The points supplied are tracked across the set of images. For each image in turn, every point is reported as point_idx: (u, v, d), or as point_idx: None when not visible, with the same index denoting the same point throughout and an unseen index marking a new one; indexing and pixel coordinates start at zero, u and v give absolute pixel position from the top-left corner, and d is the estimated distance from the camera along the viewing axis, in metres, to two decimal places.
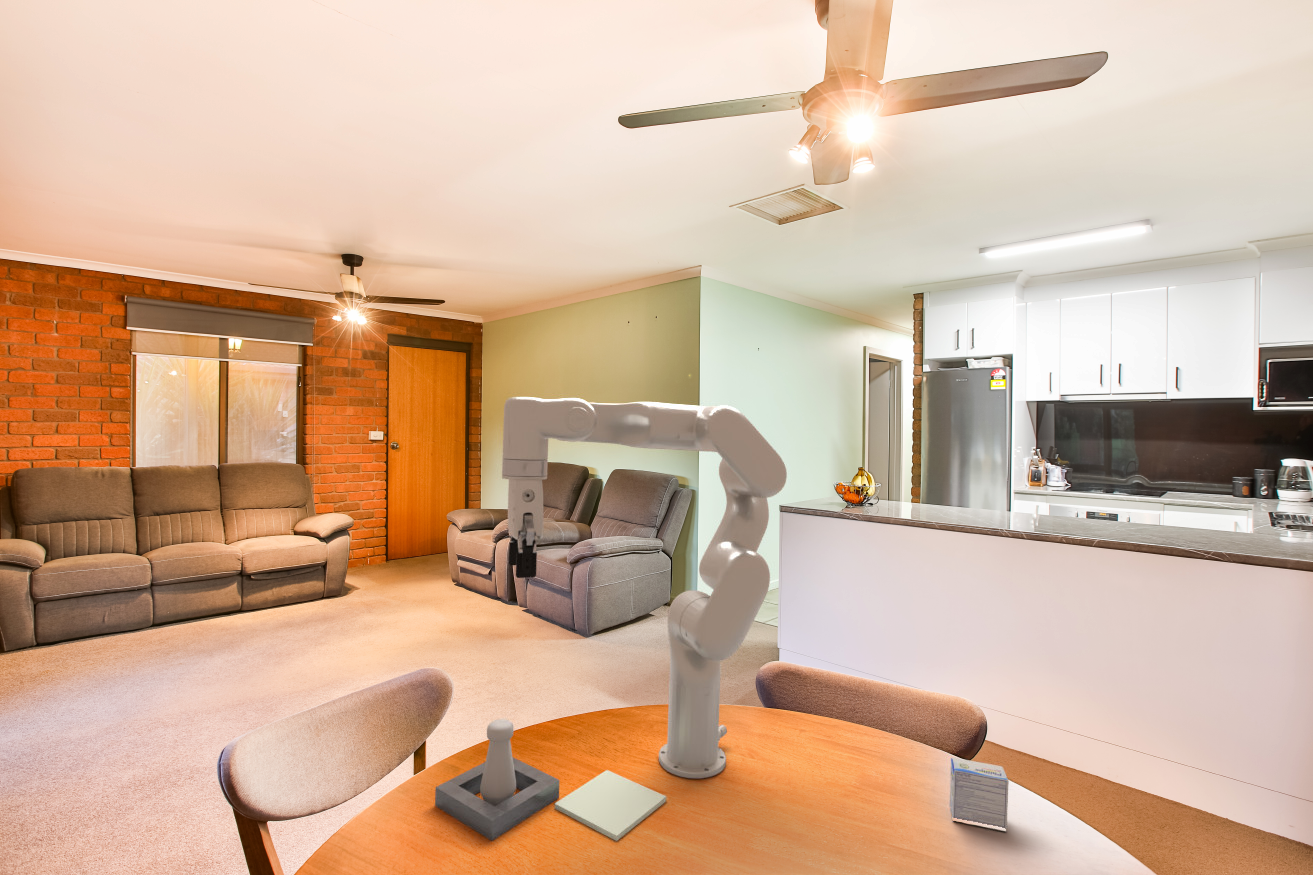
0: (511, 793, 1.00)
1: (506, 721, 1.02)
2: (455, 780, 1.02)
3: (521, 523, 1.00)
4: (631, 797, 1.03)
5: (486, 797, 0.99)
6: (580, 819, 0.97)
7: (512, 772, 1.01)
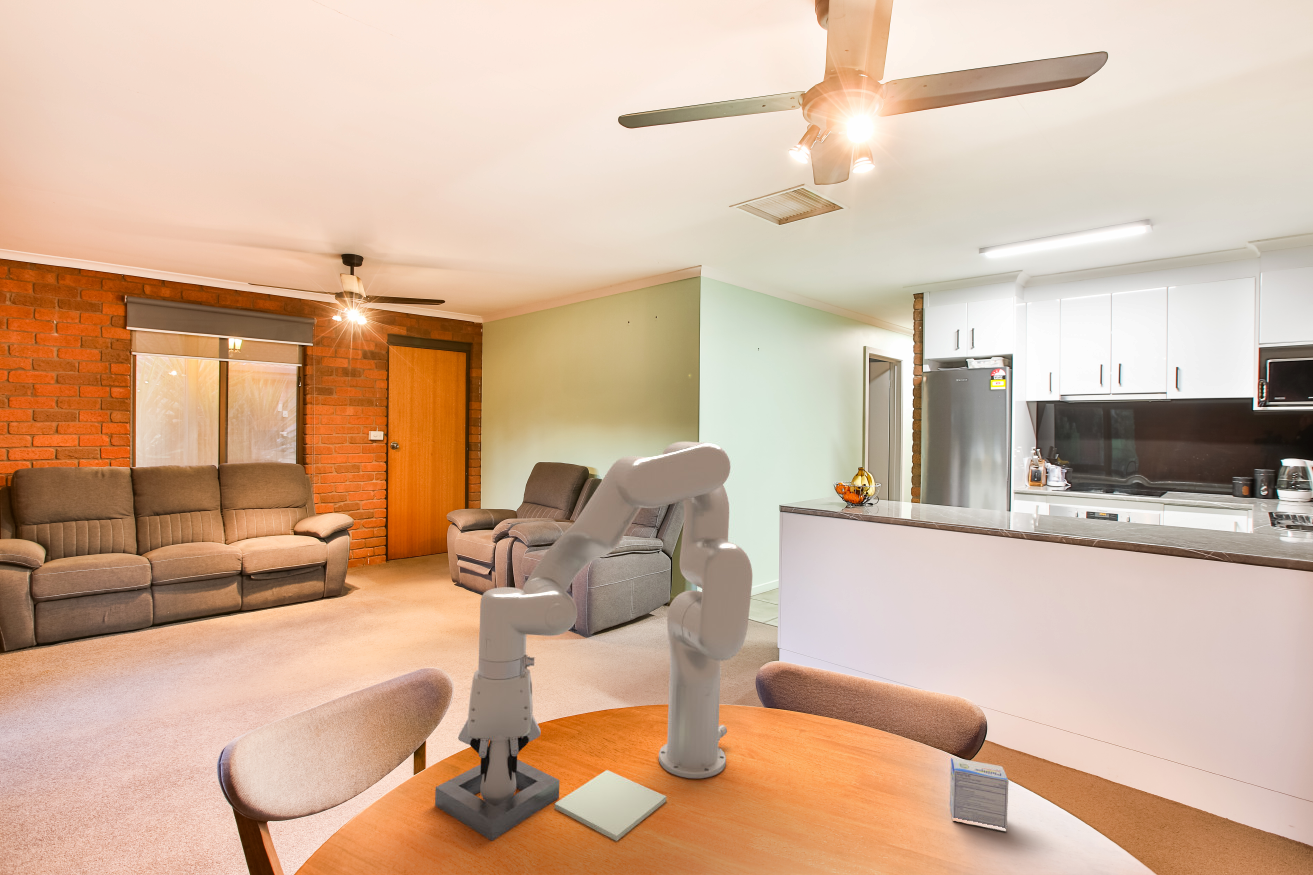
0: (511, 793, 1.00)
1: None
2: (455, 780, 1.02)
3: (531, 717, 1.01)
4: (631, 797, 1.03)
5: (486, 797, 0.99)
6: (580, 819, 0.97)
7: (512, 772, 1.01)
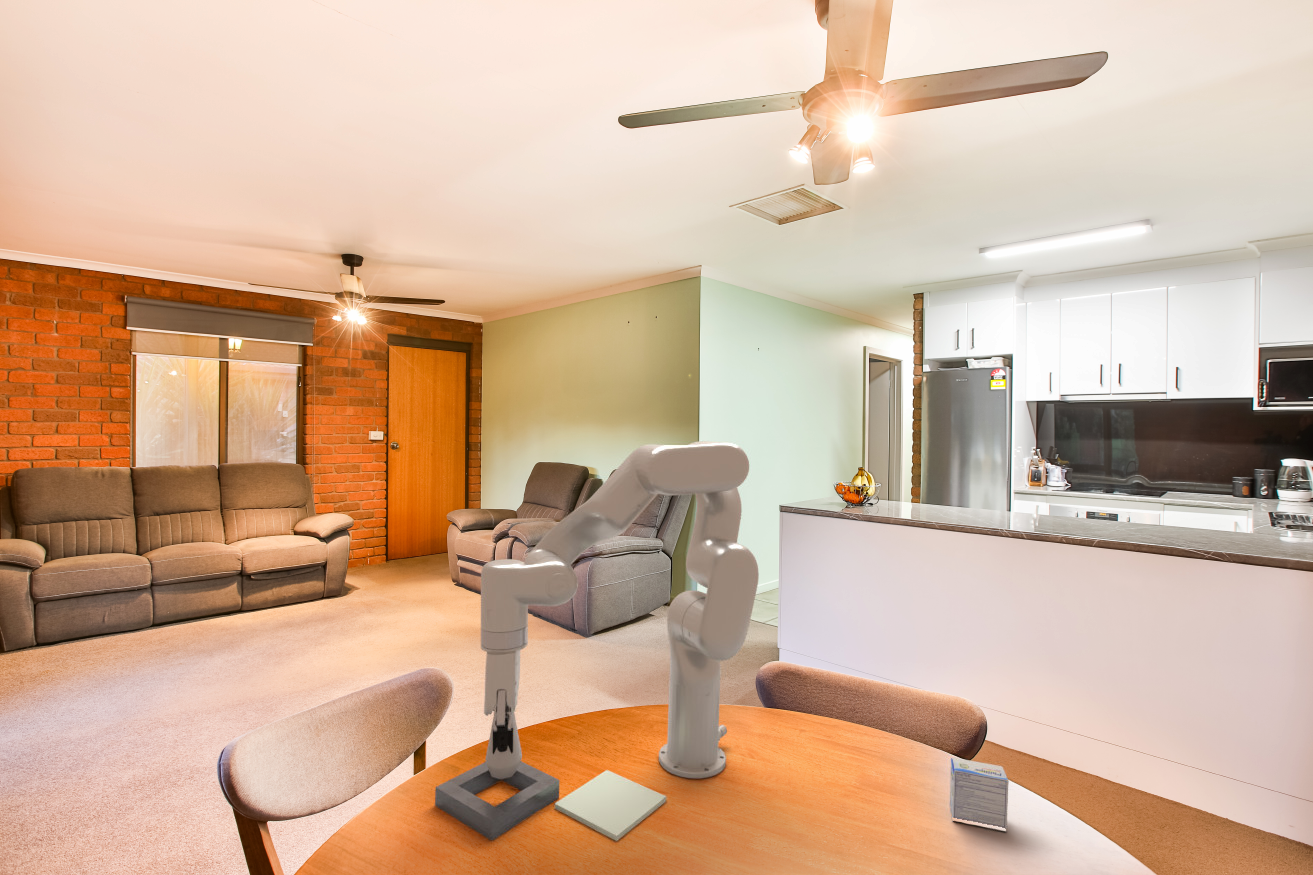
0: None
1: None
2: (455, 780, 1.02)
3: None
4: (631, 797, 1.03)
5: (517, 763, 1.01)
6: (580, 819, 0.97)
7: None
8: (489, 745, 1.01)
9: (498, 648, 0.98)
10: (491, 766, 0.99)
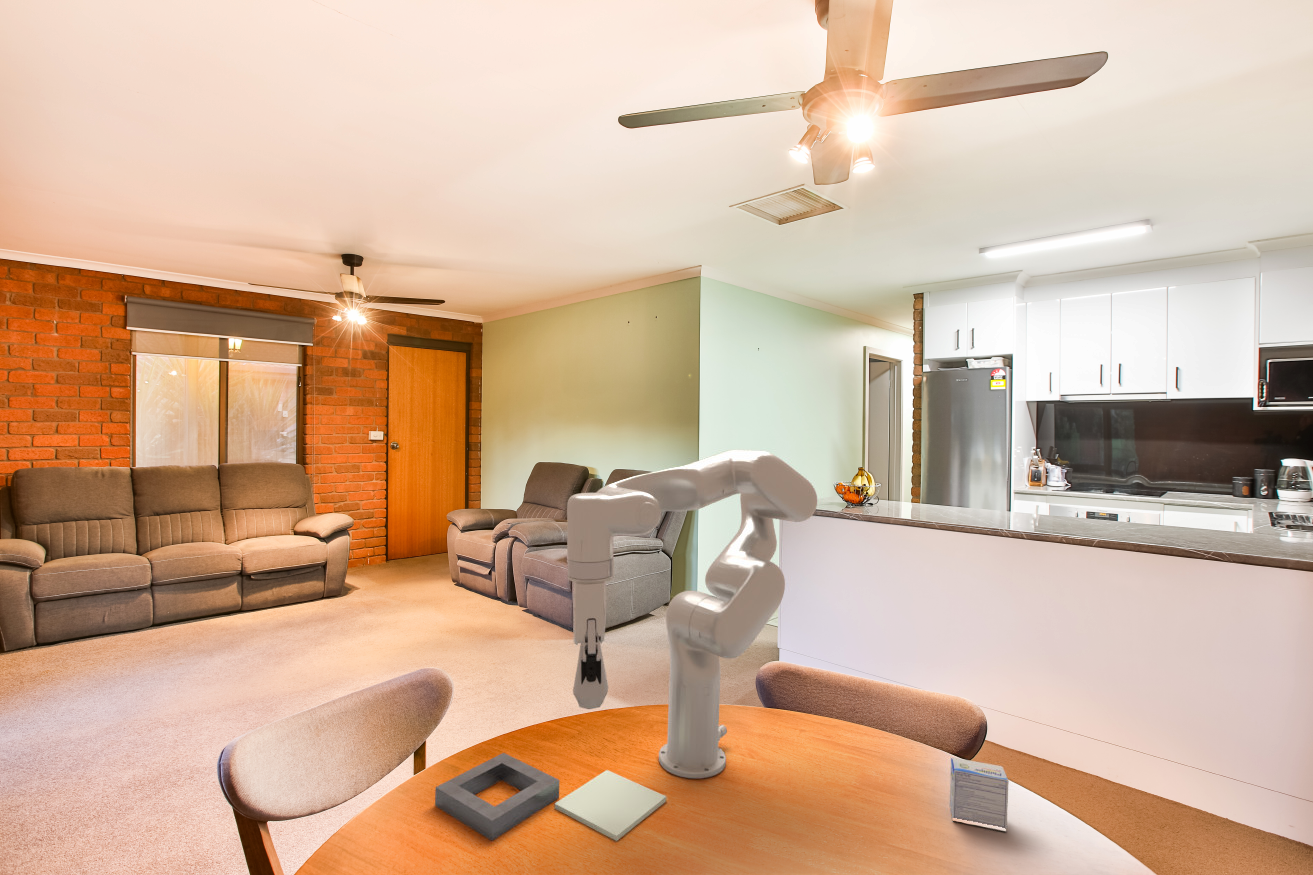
0: None
1: (587, 624, 1.03)
2: (455, 780, 1.02)
3: None
4: (631, 797, 1.03)
5: (605, 694, 1.01)
6: (580, 819, 0.97)
7: None
8: (577, 676, 1.01)
9: (587, 578, 0.98)
10: (580, 696, 1.00)
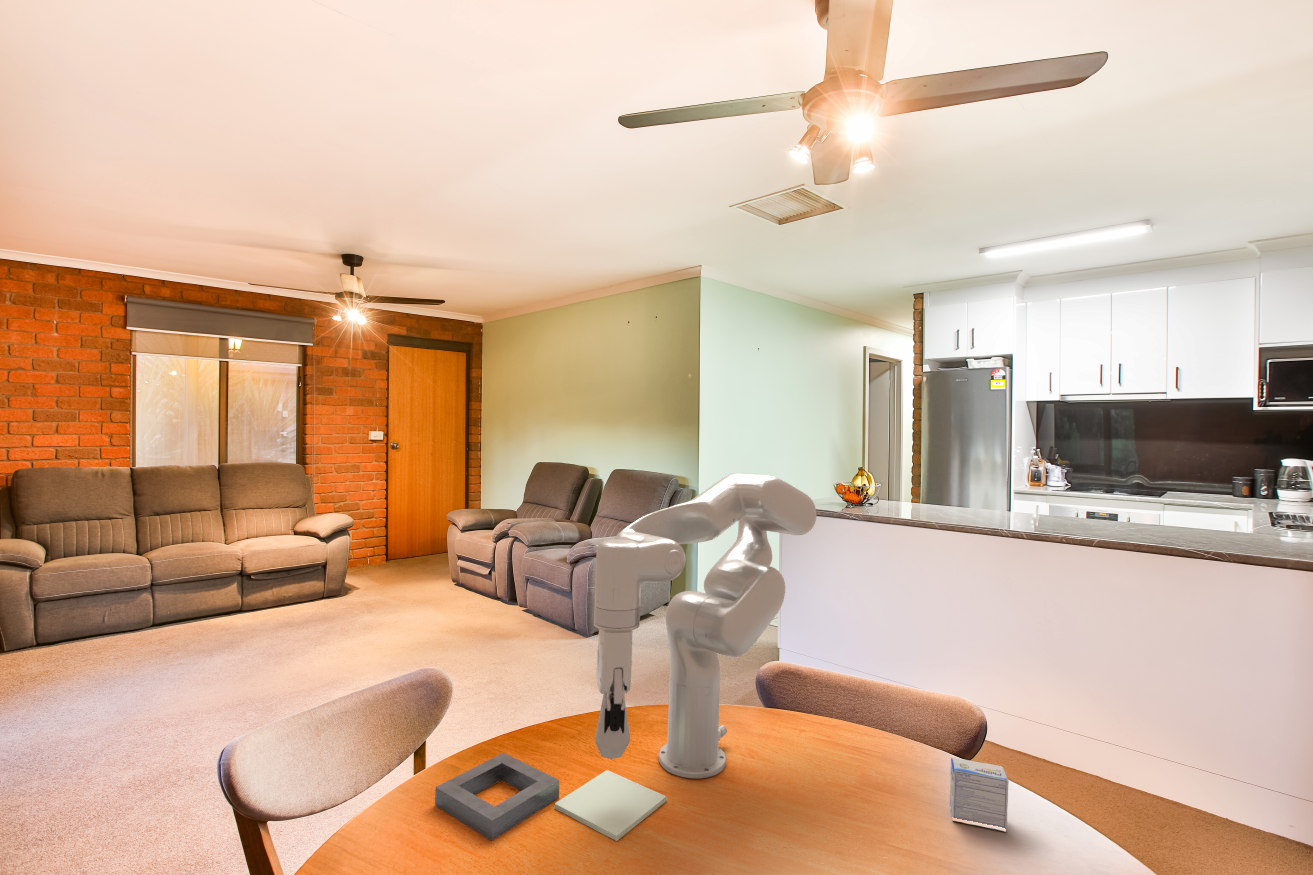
0: None
1: None
2: (455, 780, 1.02)
3: None
4: (631, 797, 1.03)
5: (627, 743, 1.00)
6: (580, 819, 0.97)
7: None
8: (600, 724, 1.00)
9: (615, 626, 0.98)
10: (602, 745, 0.99)
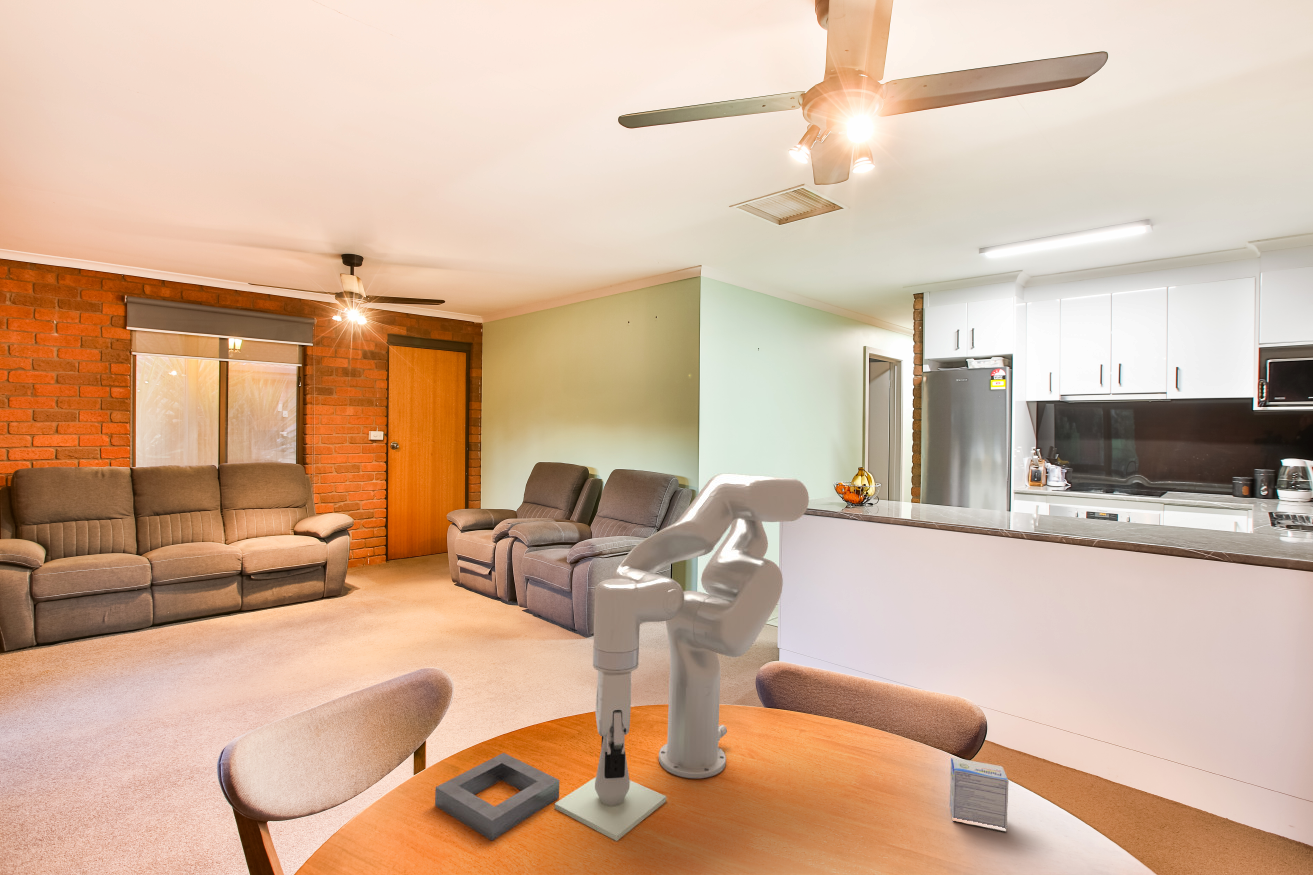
0: None
1: None
2: (455, 780, 1.02)
3: None
4: (631, 797, 1.03)
5: (627, 790, 1.01)
6: (580, 819, 0.97)
7: None
8: (599, 771, 1.01)
9: (614, 668, 0.98)
10: (602, 793, 0.99)
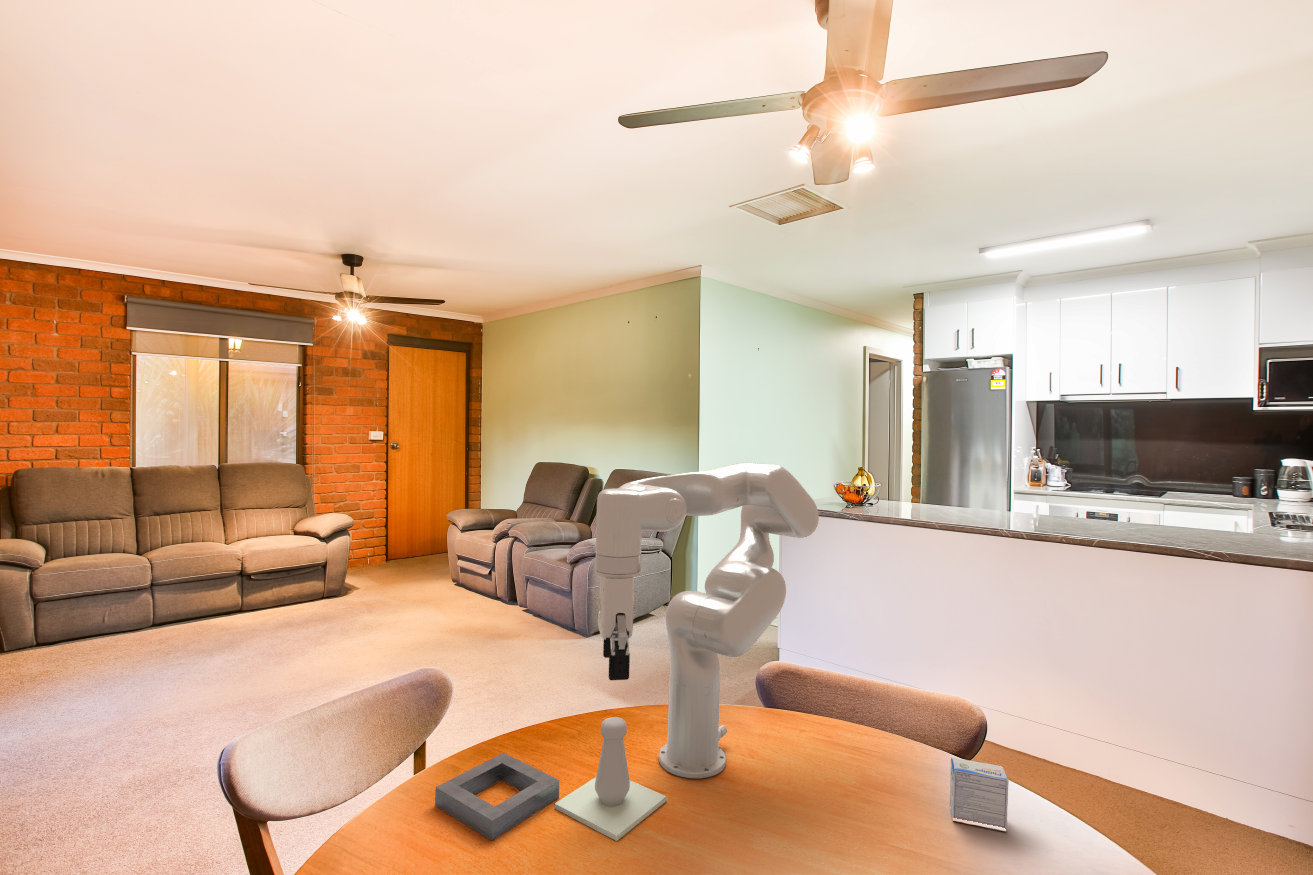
0: None
1: (611, 718, 1.03)
2: (455, 780, 1.02)
3: None
4: (631, 797, 1.03)
5: (627, 791, 1.01)
6: (580, 819, 0.97)
7: None
8: (599, 772, 1.01)
9: (616, 573, 0.98)
10: (602, 793, 0.99)
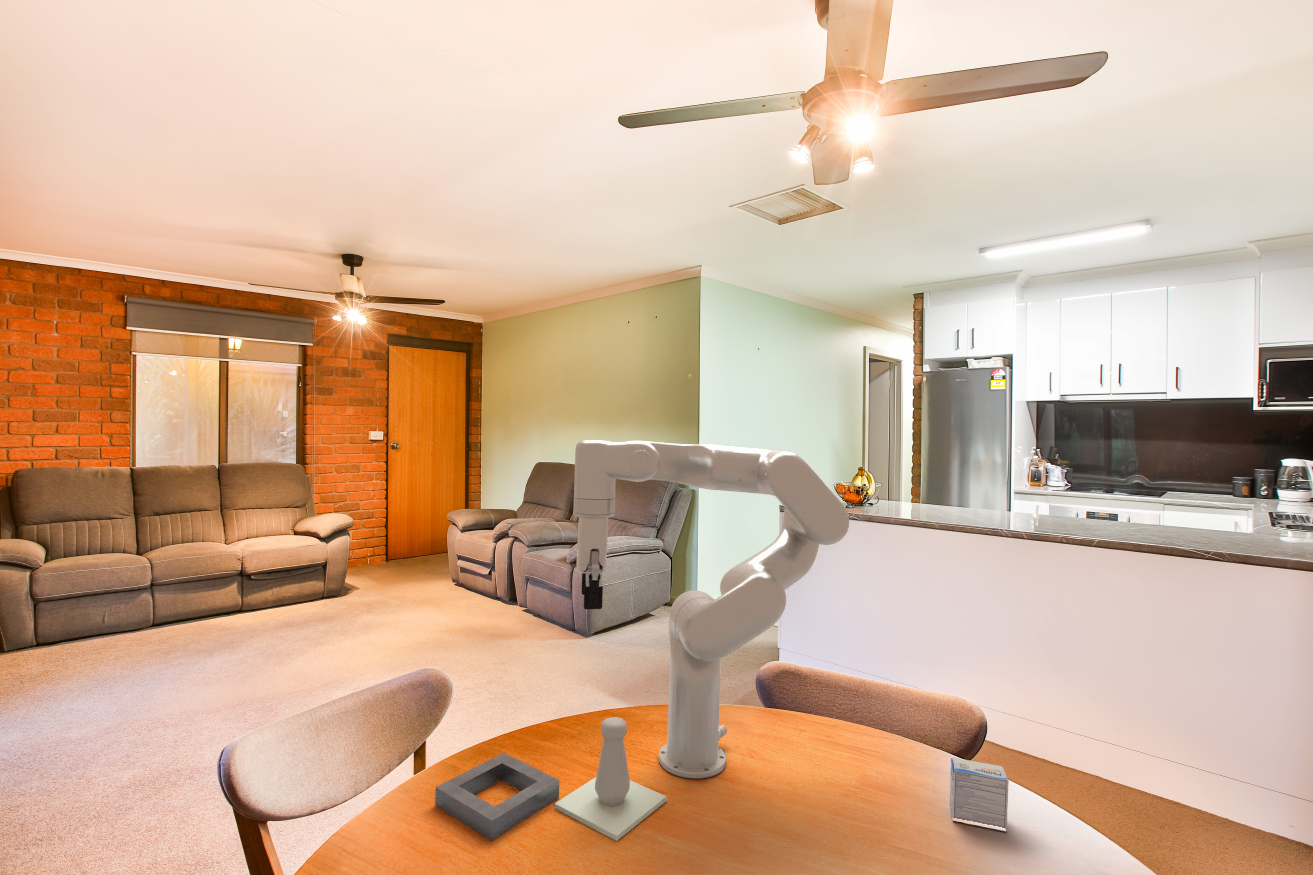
0: None
1: (611, 718, 1.03)
2: (455, 780, 1.02)
3: None
4: (631, 797, 1.03)
5: (627, 791, 1.01)
6: (580, 819, 0.97)
7: None
8: (599, 772, 1.01)
9: (591, 513, 1.09)
10: (602, 793, 0.99)
